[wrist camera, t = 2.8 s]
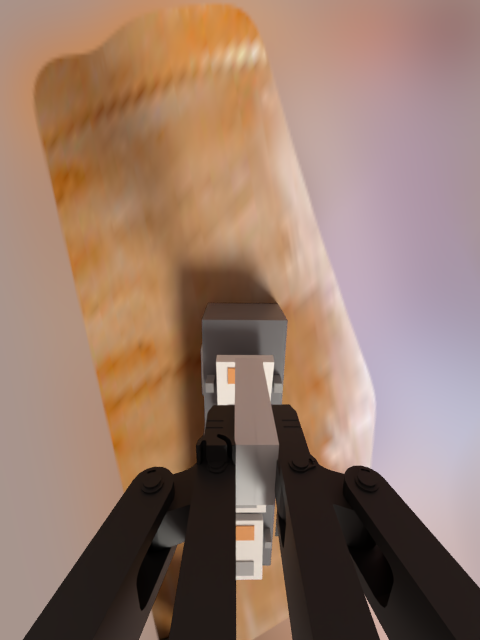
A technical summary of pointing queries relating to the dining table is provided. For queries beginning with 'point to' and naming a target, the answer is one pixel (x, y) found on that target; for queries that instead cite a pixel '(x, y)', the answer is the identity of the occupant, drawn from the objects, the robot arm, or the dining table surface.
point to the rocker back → (249, 546)
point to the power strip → (244, 339)
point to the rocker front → (227, 376)
